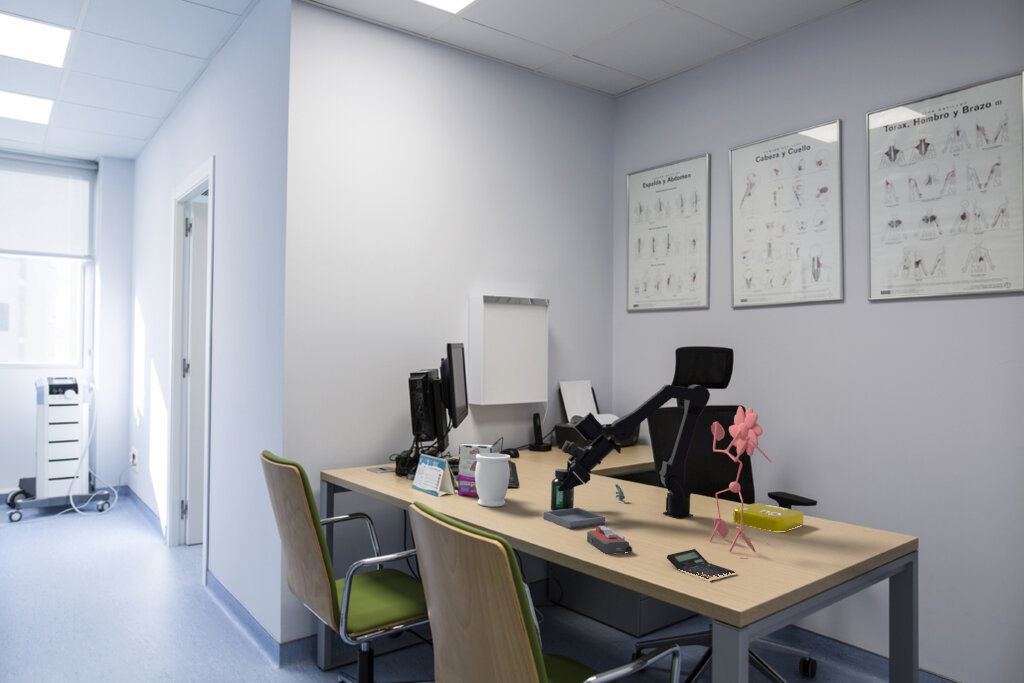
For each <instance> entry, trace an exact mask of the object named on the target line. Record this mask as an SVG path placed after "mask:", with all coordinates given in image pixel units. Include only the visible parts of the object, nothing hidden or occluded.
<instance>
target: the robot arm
mask: <svg viewBox="0 0 1024 683" xmlns="http://www.w3.org/2000/svg"><path fill="white" fill-rule="evenodd" d="M710 396H711V394H710V391H709V389H708V388H707V387H706V386H704V385H701V384H691V385H689V386H687V387H686V386H680V385H679V386H677V385H672V384H665V385H663V386H662V387H661V388H660V389H659V390H658V391H657V392H655V393H654V394H653V395H652V396H650V397H649V398H648V399H647V400H646V401H644V402H643V403H642V404H640V405H639V406H638V407H637V408H636V409H634V410H632V411H631V412H630V413H628V414H625V415H623V416H621V417H619V418H617V419H616V420H614V421H613V422H612V423H604V424H601V423H600V422H599V421H598V419H597V417H595V415H594V414H593V413H592V412H588V413H587V414H586V415H584V417H582V418H580V419H579V420H578V421H577V422H576V423H575V424H574V425H573V428H574V429H575V430H576V431H577V432H578V433H579V434H580V436H581V437H582V438H583V439H584V440H585V441H591V442H592V443H591V444H589V445H587V446H584V447H583V448H582V447H580V446H579V444H578V443H575V442H574V441H572V442H570V441H569V440H565V441H564V444H563V446H562V448H561V451H562V452H563V453H564V454H567V455H570V456H569V457H568V458H567V459H568V460H566V469H567V470H569V475H568V476H567V477H566V479H565V480H564V481H563V483H562V484H561V485H560V487H559V488H558V490H559V491H560V492H561V491H564V490H567V489H570V488H573V487H574V488H575V487H579V486H581V485H586V484H587V483H589V482H590V480H591V473H592V470H593V469H594V468H596V467H597V466H600V465H601V464H602V461H603V460H604V459H605V458H606V457H608V456H609V455H610V454H612V452H613V451H614V450H615V451H616V452H617V453H618V454H621V447H622V443H620V442H619V443H618V442H616V441H615V440H617V441H622V442H623V441H626V440H628V439H630V437H631V436H632V435H633V434H634V433H635V431H636V430H637V429H638V427H639V426H640V425H641V424H642V423H643V421H645V420H646V419H648V418H649V417H650V416H651V415H653V413H655V412H657V411H658V410H659V409H660V408H661V407H663V406H664V405H665V404H666V403H667V402H669V401H670V400H671V399H675V400H677V399H679V400H684V403H683V404H684V413H683V417H682V420H681V423H680V426H679V430H678V434H677V436H676V440H675V442H674V443H675V444H674V446H673V450H672V453H671V456H670V458H669V460H668V461H665V460H663V461H662V466H661V468H660V470H659V474H660V481H661V483H662V485H664V487H665V488H666V489H667V493H666V497H665V498H666V499H665V503H666V504H665V511H662V514H663V515H665V514H666V516H668V515H669V517H671V518H675V519H686V518H691V517H694V514H692V513H691V512H690V511H691V496H692V493H693V491H692V489H691V488H689V486H687V485H686V482H685V480H686V460H687V457H688V453H689V450H690V447H691V443H692V440H693V438H694V434H695V430H696V428H697V427H696V426H697V423H698V421H699V417H700V415H702V413H703V411H704V410H705V408H706V406H707V404H708V402H709V400H710V398H711V397H710ZM602 431H603V432H604V433H605V434H606V435H609V436H608V437H607V436H606V435H605V434H604V433H603V432H602ZM613 438H614V439H615V440H614V439H613Z"/></svg>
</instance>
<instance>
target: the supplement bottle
mask: <svg viewBox="0 0 1024 683" xmlns="http://www.w3.org/2000/svg"><path fill="white" fill-rule="evenodd" d="M568 475H569V470H567V468H566V469H565V468H556V469H555V472H554V477H555V478H553V479H552V480H551V484H550V485H551V486H550V511H554V510H562V509H570V508H575V507H574V504H575V500H574V499H575V487H573V488H570V489H567V490H564V491H561V492H560V491H559V490H558V488H559V487H560V485H561V484H562V483H563V481H564V480H565V479H566V477H567V476H568Z"/></svg>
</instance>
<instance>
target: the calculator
mask: <svg viewBox="0 0 1024 683" xmlns="http://www.w3.org/2000/svg"><path fill="white" fill-rule="evenodd" d="M666 560H668V561H669V562H670V563H671V564H672V565H673V567H674V568H677V569H680V570H683V571H686V572H689V573H692V574H695V575H696V574H697V575H698V573H699V575H698V576H701V575H702V576H701V577H704V578H706V579H709V578H711V577H713V575H715V576H717V577H719V576H718V574H719V575H723V573H724V574H726V573H727V575H728V574H729V572H730V573H731V574H732V573H735V572H736V571H735V570H732V569H729V568H726V567H723V566H719V565H716V564H714V563H712V562H711V563H710V562H708V560H706V559H705V557H704V556H703V555H702V554H701V553H700V552H699V551H698V550H697V549H696V548H693V549H689V550H684V551H681V552H680V551H679V552H675V553H670V554H668V555H667V556H666ZM677 569H676V570H677ZM734 571H735V572H734ZM697 572H698V573H697ZM702 572H703V574H702ZM703 575H704V576H703ZM708 575H709V576H708ZM723 576H724V575H723ZM707 577H708V578H707Z"/></svg>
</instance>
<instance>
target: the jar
mask: <svg viewBox="0 0 1024 683" xmlns="http://www.w3.org/2000/svg"><path fill="white" fill-rule="evenodd" d="M476 459H477V460H478V461H477V464H476V470H475V481H476V490H477V494H478V496H479V497H478V498H479V499H477V504H478V505H479V506H482V507H490V508H492V507H493V508H494V507H495V508H496V507H502V506H505V505H506V501H505V498H506V496H507V493H508V489H509V488H508V487H509V484H510V477H511V476H510V475H511V473H510V471H511V470H510V464H509V461H510V460H511V455H509V454H506V453H497V452H495V453H482V454H477V455H476Z"/></svg>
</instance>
